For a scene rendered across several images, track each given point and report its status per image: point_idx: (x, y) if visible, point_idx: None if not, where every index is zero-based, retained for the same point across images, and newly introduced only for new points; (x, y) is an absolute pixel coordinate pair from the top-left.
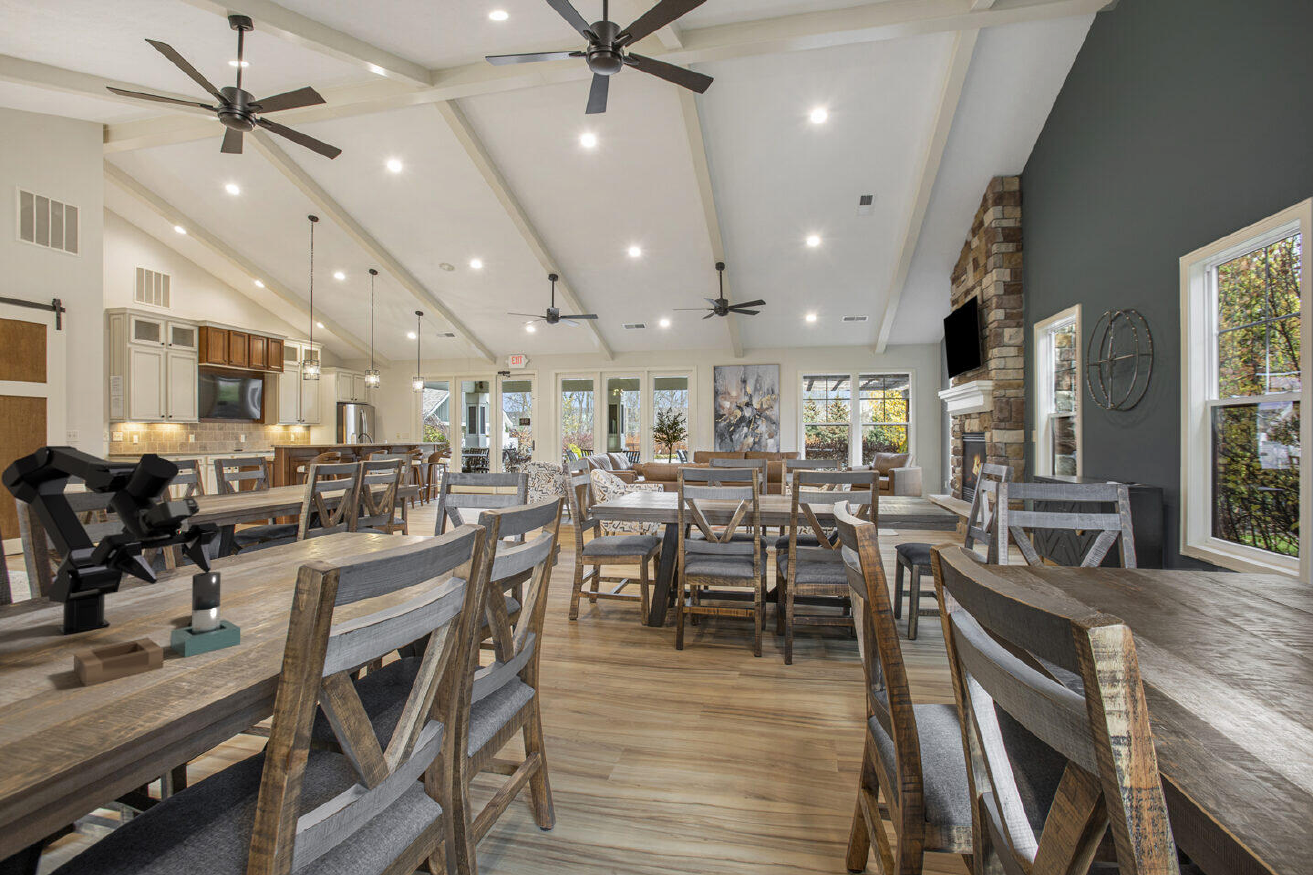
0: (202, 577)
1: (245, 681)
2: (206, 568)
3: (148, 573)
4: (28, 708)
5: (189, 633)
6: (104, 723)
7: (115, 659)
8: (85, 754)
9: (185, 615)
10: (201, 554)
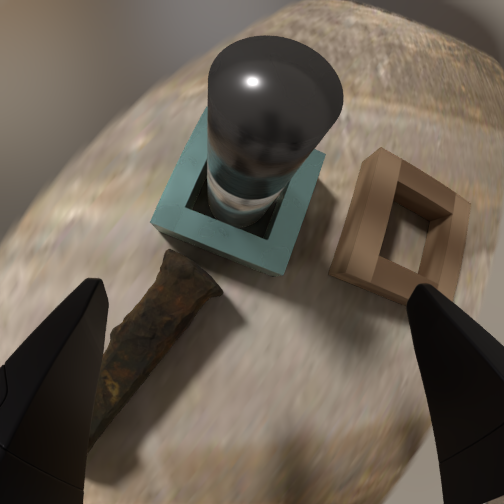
0: (325, 63)
1: (338, 9)
2: (100, 301)
3: (464, 312)
4: (492, 207)
5: (286, 193)
6: (462, 81)
7: (441, 187)
8: (476, 55)
9: (85, 485)
10: (49, 399)
